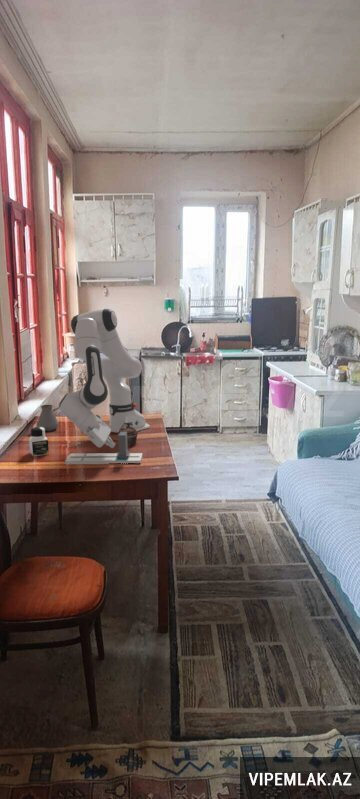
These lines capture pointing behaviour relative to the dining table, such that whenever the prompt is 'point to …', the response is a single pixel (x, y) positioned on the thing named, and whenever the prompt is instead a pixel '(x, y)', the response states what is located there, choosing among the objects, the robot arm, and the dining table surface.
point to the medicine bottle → (38, 442)
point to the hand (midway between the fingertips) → (113, 446)
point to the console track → (102, 458)
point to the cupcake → (129, 432)
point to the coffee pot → (48, 418)
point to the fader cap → (123, 446)
